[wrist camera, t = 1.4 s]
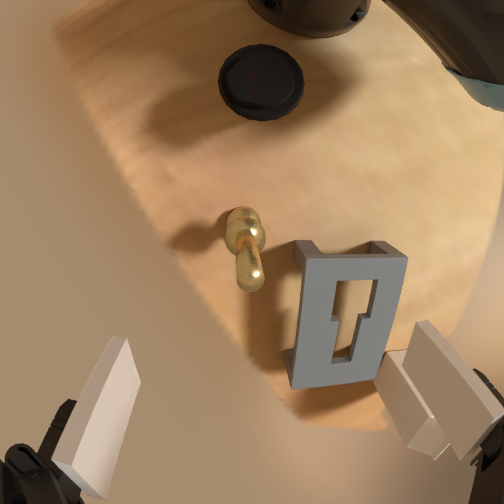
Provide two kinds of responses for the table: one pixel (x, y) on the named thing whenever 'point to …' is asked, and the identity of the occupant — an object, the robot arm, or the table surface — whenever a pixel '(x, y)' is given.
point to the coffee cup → (261, 82)
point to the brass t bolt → (246, 246)
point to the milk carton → (408, 407)
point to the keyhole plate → (326, 326)
